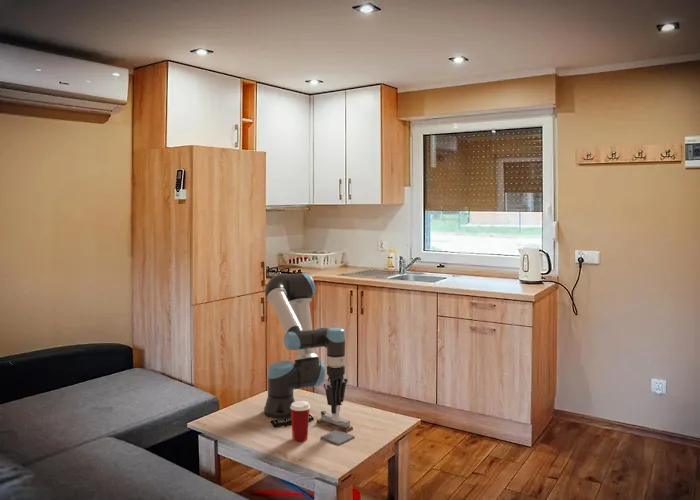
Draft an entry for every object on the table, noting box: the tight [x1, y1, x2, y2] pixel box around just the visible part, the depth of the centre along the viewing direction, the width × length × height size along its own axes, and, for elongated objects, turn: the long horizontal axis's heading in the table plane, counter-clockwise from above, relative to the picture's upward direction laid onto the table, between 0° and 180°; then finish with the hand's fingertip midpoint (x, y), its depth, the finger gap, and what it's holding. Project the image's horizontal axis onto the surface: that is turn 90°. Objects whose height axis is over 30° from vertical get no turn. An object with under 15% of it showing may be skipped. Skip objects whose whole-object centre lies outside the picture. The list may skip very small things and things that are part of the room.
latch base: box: [316, 417, 354, 434], centre depth 251 cm, size 17×4×1 cm, turn 51°
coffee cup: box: [290, 400, 311, 443], centre depth 236 cm, size 8×8×15 cm
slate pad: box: [320, 429, 355, 446], centre depth 238 cm, size 10×10×1 cm
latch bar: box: [320, 410, 351, 428], centre depth 251 cm, size 15×3×3 cm, turn 51°
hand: (335, 420), depth 243 cm, fingers closed
